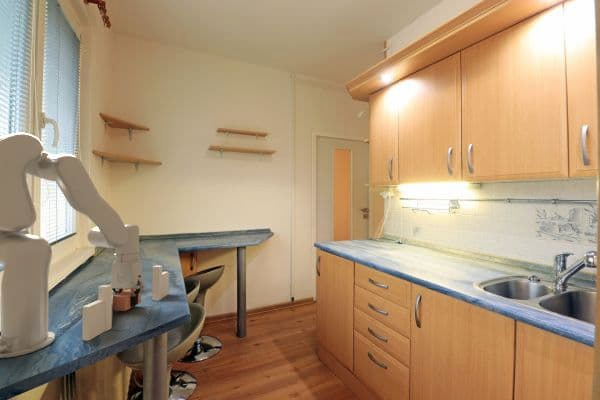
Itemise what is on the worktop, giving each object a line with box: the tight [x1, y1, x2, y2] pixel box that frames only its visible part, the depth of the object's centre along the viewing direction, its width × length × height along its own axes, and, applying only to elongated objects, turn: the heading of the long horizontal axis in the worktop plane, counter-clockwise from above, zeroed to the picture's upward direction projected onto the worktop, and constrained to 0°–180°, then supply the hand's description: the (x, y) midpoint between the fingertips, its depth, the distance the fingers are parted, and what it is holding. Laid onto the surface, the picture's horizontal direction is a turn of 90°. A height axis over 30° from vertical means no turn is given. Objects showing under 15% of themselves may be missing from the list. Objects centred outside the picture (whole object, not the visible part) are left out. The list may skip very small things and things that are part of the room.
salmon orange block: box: [113, 289, 142, 312], centre depth 104 cm, size 8×5×5 cm, turn 172°
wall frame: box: [81, 265, 170, 342], centre depth 101 cm, size 40×3×14 cm, turn 173°
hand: (127, 304), depth 104 cm, fingers closed on salmon orange block, 5 cm apart
